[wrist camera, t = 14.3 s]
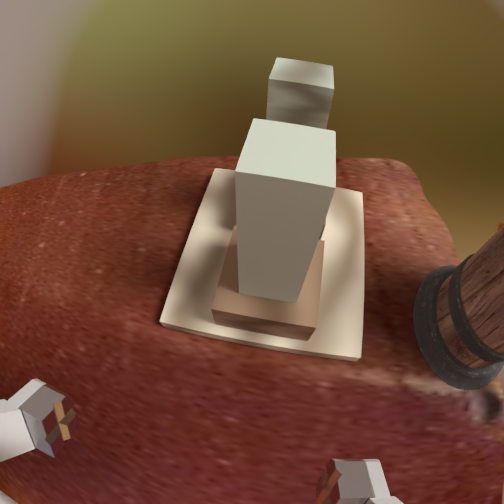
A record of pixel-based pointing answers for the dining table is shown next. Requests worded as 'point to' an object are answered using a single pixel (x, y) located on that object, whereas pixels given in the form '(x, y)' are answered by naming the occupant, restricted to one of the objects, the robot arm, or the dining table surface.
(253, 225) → the sage column
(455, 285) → the tankard
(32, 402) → the robot arm
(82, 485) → the dining table surface
